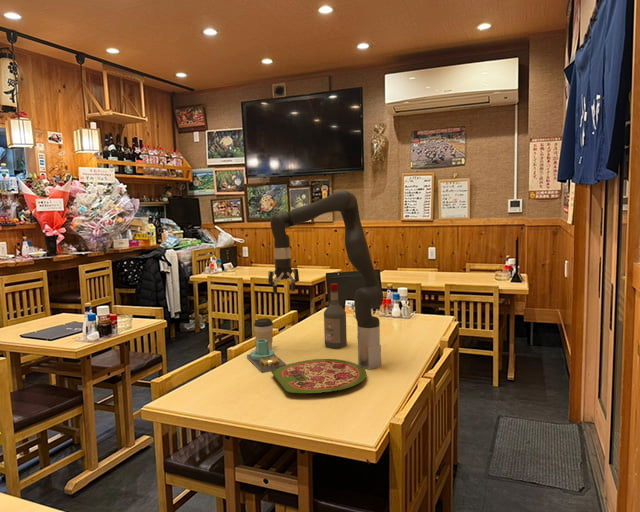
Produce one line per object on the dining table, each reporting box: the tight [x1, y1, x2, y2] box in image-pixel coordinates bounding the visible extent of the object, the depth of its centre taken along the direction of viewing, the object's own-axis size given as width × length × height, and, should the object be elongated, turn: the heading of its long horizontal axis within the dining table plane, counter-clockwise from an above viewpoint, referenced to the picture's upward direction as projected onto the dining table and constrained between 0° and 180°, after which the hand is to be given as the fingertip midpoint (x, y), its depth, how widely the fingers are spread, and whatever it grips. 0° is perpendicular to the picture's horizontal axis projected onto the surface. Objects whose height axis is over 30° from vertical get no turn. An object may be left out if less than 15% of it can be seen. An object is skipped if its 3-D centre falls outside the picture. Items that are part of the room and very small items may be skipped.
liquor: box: [323, 282, 348, 350], centre depth 225 cm, size 9×9×30 cm
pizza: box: [271, 358, 367, 394], centre depth 185 cm, size 35×35×2 cm
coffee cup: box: [253, 317, 274, 351], centre depth 222 cm, size 9×9×15 cm
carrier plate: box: [246, 353, 287, 373], centre depth 205 cm, size 21×11×6 cm, turn 25°
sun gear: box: [260, 356, 280, 366], centre depth 201 cm, size 8×8×2 cm
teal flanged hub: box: [249, 339, 276, 360], centre depth 210 cm, size 10×10×7 cm
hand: (284, 292), depth 218 cm, fingers open, 8 cm apart
